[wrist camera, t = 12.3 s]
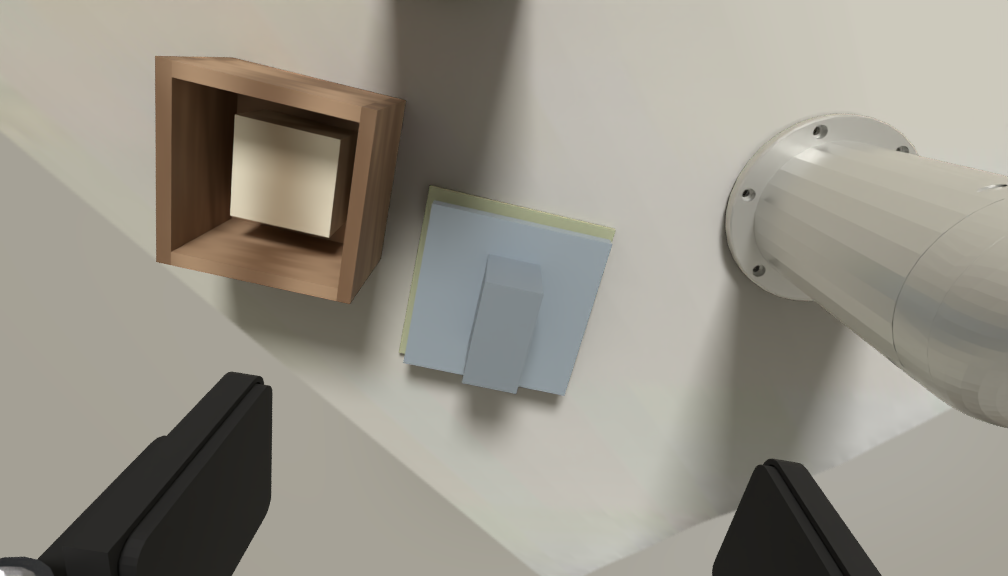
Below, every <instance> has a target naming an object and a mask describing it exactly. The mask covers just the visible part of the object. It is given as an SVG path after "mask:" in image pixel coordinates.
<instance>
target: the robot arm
mask: <svg viewBox="0 0 1008 576" xmlns="http://www.w3.org/2000/svg"><path fill="white" fill-rule="evenodd" d="M815 128H817V130H816V132H815V133H814V134H813V131H814V129H815ZM746 189H747V193H746V195H744V196H742V193H743V192H744V191H745V190H746ZM725 229H726V236H727V242H728V246H729V249H730V251H731V254H732V256H733V259H734V260H735V262H736V263H737V265H738V266H739V268H740V269H741V271H742V272H743V273H744V274H745V275H746V276H747V277H748V278H749V279H750V280H751V281H753V282H754V283H755V284H757V285H758V286H759V287H761V288H762V289H763V290H765V291H767V292H769V293H772V294H774V295H776V296H778V297H782V298H786V299H791V300H797V301H815V302H816V303H818V304H819V305H820V306H822V307H823V308H824V309H825V310H827V311H828V312H829V313H830V314H832V315H833V316H834V317H835V318H837V319H838V320H839V321H840V322H842V323H843V324H844V325H845V326H847V327H848V328H849V329H851V330H852V331H853V332H854V333H856V334H857V335H858V336H859V337H861V338H862V339H863V340H864V341H866V342H867V343H868V344H869V345H871V346H872V347H873V348H875V349H876V350H877V351H878V352H880V353H881V354H882V355H883V356H885V357H886V358H887V359H888V360H890V361H891V362H892V363H893V364H895V365H896V366H897V367H898V368H900V369H901V370H903V371H904V372H905V373H906V374H908V375H909V376H910V377H911V378H913V379H914V380H915V381H917V382H918V383H919V384H921V385H922V386H923V387H925V388H926V389H927V390H928V391H930V392H931V393H932V394H934V395H935V396H936V397H938V398H939V399H940V400H942V401H943V402H945V403H946V404H948V405H949V406H951V407H953V408H954V409H956V410H958V411H960V412H962V413H964V414H966V415H968V416H970V417H973V418H975V419H977V420H981V421H984V422H987V423H990V424H993V425H996V426H1000V427H1004V428H1008V176H1004V175H1000V174H996V173H991V172H987V171H983V170H978V169H974V168H970V167H965V166H961V165H957V164H952V163H948V162H943V161H939V160H935V159H930V158H926V157H922V156H919V155H918V153H917V151H916V149H915V147H914V146H913V144H912V143H911V142H910V141H909V140H908V139H907V138H906V136H905V135H904V134H903V133H901V132H900V131H898V130H897V129H896V128H894V127H893V126H891V125H890V124H888V123H885V122H883V121H880V120H877V119H875V118H872V117H867V116H861V115H856V114H830V115H824V116H817V117H814V118H811V119H808V120H805V121H802V122H799V123H797V124H795V125H793V126H791V127H789V128H787V129H786V130H784V131H782V132H780V133H779V134H777V135H776V136H775V137H773V138H772V139H771V140H770V141H768V142H767V143H766V144H764V145H763V146H762V147H761V148H760V149H759V150H758V151H757V152H756V154H755V155H754V156H753V157H752V158H751V159H750V160H749V161H748V163H747V164H746V166H745V167H744V169H743V170H742V172H741V173H740V175H739V176H738V178H737V181H736V183H735V185H734V187H733V189H732V192H731V194H730V198H729V202H728V206H727V210H726V225H725ZM755 266H757V267H756V269H754V267H755ZM271 454H272V388H271V386H268V385H264V381H263V378H262V377H261V376H255V375H249V374H242V373H236V372H228V373H227V374H225V375H224V376H223V377H222V379H220V381H219V382H218V383H217V384H216V385H215V386H214V387H213V388H212V389H211V390H210V391H209V392H208V393H207V394H206V395H205V396H204V397H203V398H202V399H201V400H200V402H199V403H198V404H197V405H196V406H195V407H194V408H193V409H192V410H191V411H190V412H189V413H188V414H187V415H186V416H185V417H184V418H183V419H182V420H181V422H180V423H179V424H178V425H177V426H176V427H175V428H174V429H173V430H172V431H171V432H170V433H169V434H168V435H167V436H162V437H159V438H157V439H156V440H154V441H153V442H152V443H151V444H150V445H149V446H148V447H147V448H146V449H145V450H144V451H143V452H142V453H141V454H140V455H139V456H138V457H137V458H136V459H135V460H134V461H133V462H132V463H131V464H130V465H129V466H128V467H127V468H126V469H125V470H124V471H123V472H122V473H121V474H120V475H119V476H118V477H117V479H115V480H114V481H113V483H111V485H110V486H108V488H107V489H106V490H105V491H104V492H103V493H102V494H101V495H100V496H99V497H98V498H97V499H96V500H95V501H94V502H93V503H92V504H91V505H90V506H89V507H88V508H87V509H86V510H85V511H84V512H83V513H82V514H81V515H80V516H79V517H78V518H77V519H76V520H75V521H74V522H73V523H72V525H70V526H69V527H68V528H67V530H66V531H65V532H64V533H63V534H62V535H61V536H60V537H59V538H58V539H57V540H56V541H55V542H54V543H53V544H52V545H51V546H50V547H49V548H48V549H47V550H46V551H45V552H44V553H43V554H42V555H41V556H40V557H39V558H38V559H32V558H28V557H4V558H0V576H232V574H233V572H234V571H235V569H236V567H237V565H238V564H239V562H240V560H241V558H242V556H243V555H244V553H245V551H246V549H247V548H248V546H249V544H250V542H251V540H252V539H253V537H254V535H255V534H256V532H257V530H258V528H259V526H260V525H261V523H262V521H263V519H264V518H265V516H266V514H267V511H268V508H269V505H270V500H271V464H272V463H271V459H272V455H271ZM712 576H881V574H880V573H879V571H878V570H877V568H876V567H875V566H874V564H873V563H872V561H871V560H870V559H869V557H868V556H867V554H866V553H865V552H864V550H863V549H862V547H861V546H860V544H859V543H858V541H857V540H856V539H855V537H854V536H853V534H852V533H851V531H850V530H849V529H848V527H847V526H846V524H845V523H844V521H843V520H842V519H841V517H840V516H839V514H838V513H837V512H836V510H835V509H834V507H833V506H832V505H831V503H830V502H829V500H828V499H827V497H826V496H825V495H824V493H823V492H822V490H821V489H820V487H819V486H818V485H817V483H816V482H815V480H814V479H813V477H812V476H811V475H810V473H809V472H808V470H807V469H806V468H805V467H804V466H803V465H802V464H800V463H796V462H789V461H783V460H777V459H768V460H767V461H766V462H765V463H764V464H763V465H758V466H757V467H756V468H755V470H754V471H753V474H752V476H751V478H750V481H749V483H748V485H747V488H746V490H745V492H744V495H743V497H742V499H741V502H740V504H739V506H738V508H737V511H736V513H735V515H734V518H733V520H732V522H731V525H730V527H729V530H728V532H727V534H726V536H725V539H724V541H723V543H722V546H721V548H720V550H719V552H718V555H717V557H716V559H715V562H714V565H713V570H712Z"/></svg>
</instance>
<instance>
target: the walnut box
mask: <svg viewBox="0 0 1008 576" xmlns="http://www.w3.org/2000/svg"><path fill="white" fill-rule="evenodd" d="M405 104H406V100H402V99H398V98H394V97H390V96H386V95H382V94H378V93H374V92H370V91H366V90H362V89H358V88H354V87H350V86H346V85H342V84H338V83H334V82H329V81H325V80H321V79H317V78H313V77H309V76H305V75H301V74H297V73H293V72H289V71H285V70H281V69H277V68H273V67H269V66H265V65H261V64H257V63H253V62H248V61H244V60H240V59H236V58H230V57H177V56H155V106H156V262H159V263H164V264H168V265H173V266H178V267H182V268H187V269H191V270H196V271H201V272H205V273H210V274H214V275H219V276H224V277H228V278H233V279H237V280H242V281H246V282H251V283H256V284H260V285H265V286H269V287H274V288H279V289H283V290H288V291H292V292H297V293H302V294H306V295H311V296H315V297H320V298H325V299H329V300H334V301H338V302H343V303H347V304H350V303H351V302H352V300H353V299H354V297H355V296H356V294H357V293H358V291H359V290H360V289H361V287H362V286H363V284H364V283H365V281H366V280H367V278H368V277H369V275H370V274H371V272H372V271H373V269H374V268H375V266H376V265H377V263H378V262H379V260H380V259H381V254H382V248H383V242H384V235H385V229H386V223H387V217H388V210H389V204H390V198H391V191H392V185H393V179H394V173H395V166H396V160H397V154H398V148H399V141H400V135H401V129H402V122H403V116H404V110H405Z"/></svg>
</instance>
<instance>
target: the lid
mask: <svg viewBox="0 0 1008 576" xmlns="http://www.w3.org/2000/svg"><path fill="white" fill-rule="evenodd" d="M611 247H612V243H611V241H610V240H609V239H604V238H600V237H596V236H591V235H587V234H582V233H578V232H573V231H569V230H565V229H560V228H556V227H551V226H547V225H542V224H538V223H534V222H529V221H525V220H520V219H516V218H512V217H507V216H503V215H498V214H494V213H489V212H485V211H481V210H476V209H472V208H467V207H463V206H459V205H454V204H450V203H445V202H441V201H436V200H434V201H433V203H432V208H431V213H430V219H429V224H428V230H427V235H426V241H425V246H424V252H423V257H422V263H421V268H420V274H419V279H418V285H417V290H416V296H415V302H414V307H413V313H412V318H411V324H410V329H409V335H408V340H407V346H406V351H405V357H404V362H403V363H406V364H411V365H416V366H421V367H426V368H431V369H436V370H441V371H446V372H450V373H455V374H460V375H463V378H462V383H464V384H469V385H474V386H479V387H484V388H489V389H494V390H499V391H504V392H509V393H514V394H516V393H517V389H518V386H519V387H524V388H529V389H534V390H538V391H543V392H548V393H553V394H558V395H563V396H564V395H565V392H566V388H567V385H568V382H569V379H570V376H571V373H572V370H573V366H574V363H575V360H576V357H577V354H578V351H579V347H580V344H581V341H582V338H583V335H584V332H585V329H586V325H587V322H588V319H589V316H590V313H591V310H592V306H593V303H594V300H595V297H596V294H597V291H598V288H599V284H600V281H601V278H602V275H603V272H604V269H605V266H606V262H607V259H608V256H609V253H610V250H611Z"/></svg>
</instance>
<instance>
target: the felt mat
mask: <svg viewBox="0 0 1008 576" xmlns="http://www.w3.org/2000/svg"><path fill="white" fill-rule="evenodd" d="M434 200H436V201H441V202H445V203H450V204H454V205H459V206H463V207H467V208H472V209H476V210H481V211H485V212H489V213H494V214H498V215H503V216H507V217H512V218H516V219H520V220H525V221H529V222H534V223H538V224H542V225H547V226H551V227H556V228H560V229H565V230H569V231H573V232H578V233H582V234H587V235H591V236H596V237H600V238H604V239H609V240H610V241H611V243H612V240H613V237H614V234H615V231H616V230H615V229H613V228H609V227H605V226H601V225H597V224H592V223H588V222H584V221H580V220H575V219H571V218H567V217H563V216H558V215H554V214H550V213H546V212H542V211H537V210H533V209H529V208H525V207H520V206H516V205H512V204H508V203H503V202H499V201H495V200H491V199H486V198H482V197H478V196H474V195H470V194H465V193H461V192H457V191H453V190H448V189H444V188H440V187H436V186H431V185H430V187H429V192H428V197H427V203H426V208H425V214H424V219H423V224H422V230H421V235H420V241H419V246H418V251H417V257H416V262H415V268H414V273H413V278H412V284H411V289H410V295H409V300H408V305H407V311H406V316H405V322H404V327H403V332H402V338H401V343H400V349H399V353H403V354H405V351H406V346H407V340H408V335H409V329H410V324H411V318H412V313H413V307H414V302H415V296H416V290H417V285H418V279H419V274H420V268H421V263H422V257H423V252H424V246H425V241H426V235H427V230H428V224H429V219H430V213H431V208H432V203H433V201H434Z"/></svg>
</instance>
